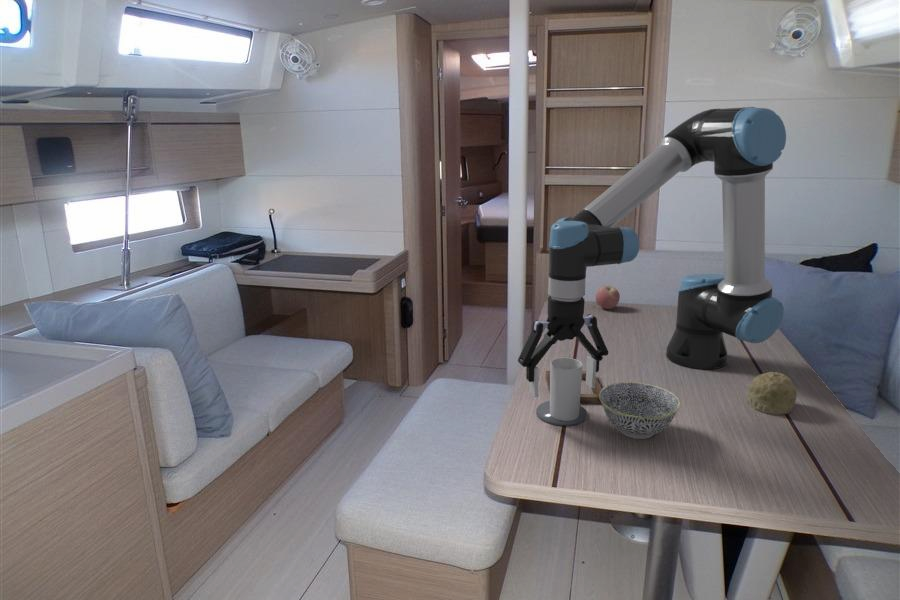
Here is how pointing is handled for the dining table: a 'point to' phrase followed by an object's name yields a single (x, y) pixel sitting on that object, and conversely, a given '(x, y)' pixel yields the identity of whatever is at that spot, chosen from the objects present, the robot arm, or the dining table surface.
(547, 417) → the coaster
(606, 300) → the apple
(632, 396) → the bowl
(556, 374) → the mug
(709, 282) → the robot arm
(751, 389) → the decorative object
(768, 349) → the dining table surface
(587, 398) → the holder
